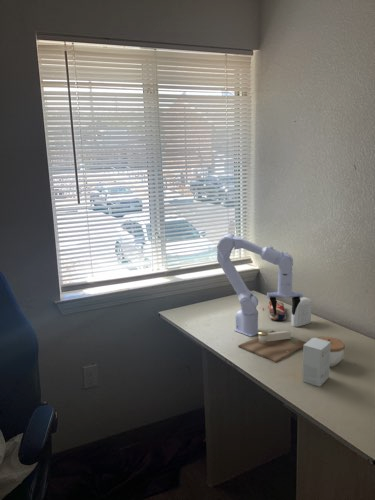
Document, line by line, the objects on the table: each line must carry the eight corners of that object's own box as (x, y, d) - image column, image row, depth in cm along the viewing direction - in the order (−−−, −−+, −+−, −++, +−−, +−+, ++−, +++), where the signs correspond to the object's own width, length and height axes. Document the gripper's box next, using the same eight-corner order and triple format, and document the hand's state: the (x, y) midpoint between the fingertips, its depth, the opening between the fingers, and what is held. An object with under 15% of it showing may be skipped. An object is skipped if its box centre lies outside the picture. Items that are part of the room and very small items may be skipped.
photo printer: (304, 320, 190) (305, 294, 188) (312, 323, 186) (313, 297, 184) (289, 325, 184) (290, 299, 182) (296, 328, 181) (297, 301, 178)
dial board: (238, 347, 163) (238, 344, 162) (272, 332, 177) (272, 329, 177) (275, 362, 149) (275, 359, 149) (309, 344, 163) (309, 342, 163)
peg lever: (260, 344, 162) (260, 334, 161) (256, 340, 166) (256, 331, 165) (291, 340, 166) (292, 330, 165) (287, 336, 169) (287, 327, 168)
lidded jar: (349, 368, 144) (351, 343, 142) (320, 370, 143) (322, 345, 141) (334, 354, 155) (335, 331, 153) (307, 357, 153) (308, 333, 151)
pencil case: (291, 310, 205) (291, 300, 204) (284, 323, 187) (284, 313, 186) (269, 307, 209) (269, 298, 208) (260, 320, 191) (260, 310, 190)
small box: (311, 371, 142) (313, 336, 139) (329, 377, 138) (331, 341, 135) (301, 381, 136) (302, 344, 133) (319, 387, 132) (321, 349, 129)
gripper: (269, 285, 165) (268, 317, 168) (305, 285, 165) (303, 317, 168) (266, 281, 172) (265, 311, 175) (300, 280, 172) (299, 311, 175)
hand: (284, 314), depth 172 cm, fingers open, 7 cm apart
